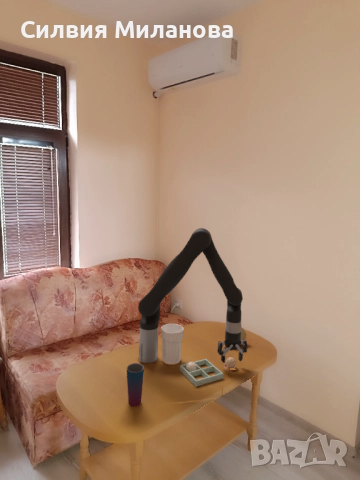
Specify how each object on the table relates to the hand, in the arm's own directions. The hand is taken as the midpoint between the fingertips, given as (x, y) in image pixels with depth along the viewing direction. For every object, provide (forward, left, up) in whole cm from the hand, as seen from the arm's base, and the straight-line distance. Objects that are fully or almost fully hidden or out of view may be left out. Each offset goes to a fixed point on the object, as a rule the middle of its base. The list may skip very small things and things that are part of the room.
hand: (231, 361), depth 156 cm
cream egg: (-20, 0, -3) cm, 21 cm away
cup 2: (-27, +12, -4) cm, 30 cm away
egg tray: (-16, -3, -4) cm, 17 cm away
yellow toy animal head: (+12, +23, -4) cm, 26 cm away
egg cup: (0, 0, -4) cm, 4 cm away
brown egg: (0, 0, -3) cm, 3 cm away
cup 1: (-48, -17, -4) cm, 51 cm away
